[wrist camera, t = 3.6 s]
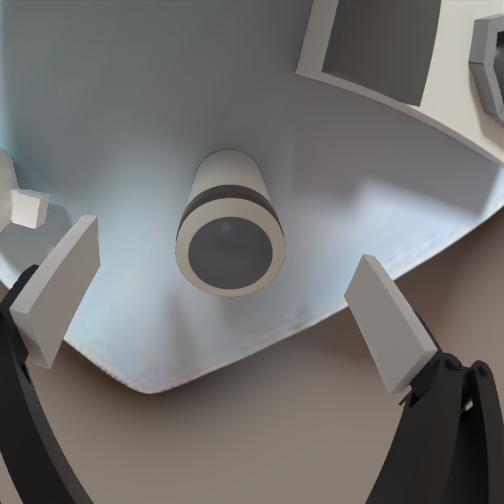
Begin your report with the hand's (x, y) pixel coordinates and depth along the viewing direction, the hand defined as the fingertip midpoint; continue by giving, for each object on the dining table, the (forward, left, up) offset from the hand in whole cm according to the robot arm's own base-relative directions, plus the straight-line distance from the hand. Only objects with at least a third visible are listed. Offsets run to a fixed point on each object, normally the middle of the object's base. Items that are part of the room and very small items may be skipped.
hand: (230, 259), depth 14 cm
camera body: (+14, +16, -10) cm, 24 cm away
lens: (0, 0, -10) cm, 10 cm away
